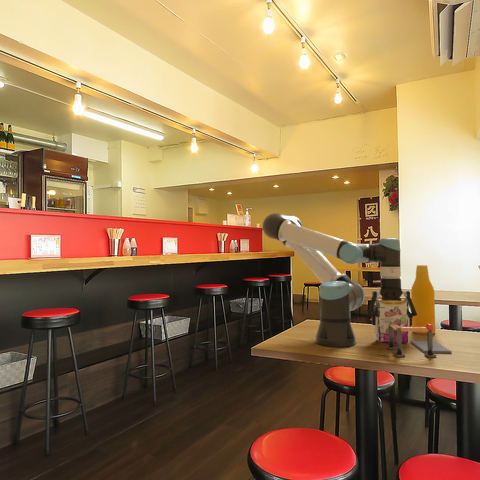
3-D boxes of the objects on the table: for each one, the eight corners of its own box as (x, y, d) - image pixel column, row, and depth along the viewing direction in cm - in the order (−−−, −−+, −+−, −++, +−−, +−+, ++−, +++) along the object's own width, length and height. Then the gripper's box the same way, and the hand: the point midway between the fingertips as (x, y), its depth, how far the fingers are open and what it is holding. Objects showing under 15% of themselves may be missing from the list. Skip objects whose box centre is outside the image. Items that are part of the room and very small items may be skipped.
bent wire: (395, 357, 131) (394, 324, 131) (385, 347, 144) (384, 317, 144) (438, 358, 129) (437, 325, 129) (423, 347, 142) (423, 318, 143)
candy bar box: (379, 343, 151) (378, 300, 151) (375, 340, 156) (374, 298, 156) (409, 343, 150) (408, 300, 150) (405, 340, 155) (403, 298, 155)
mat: (424, 353, 135) (424, 350, 135) (410, 342, 150) (410, 340, 150) (451, 353, 134) (451, 351, 134) (435, 343, 149) (435, 341, 149)
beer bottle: (422, 335, 164) (420, 265, 164) (407, 331, 172) (405, 265, 173) (440, 333, 166) (438, 265, 167) (424, 329, 175) (423, 264, 176)
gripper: (361, 278, 151) (362, 335, 150) (425, 278, 148) (426, 336, 148) (358, 277, 159) (359, 331, 158) (418, 276, 156) (420, 332, 155)
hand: (391, 333), depth 153 cm, fingers closed on candy bar box, 11 cm apart
